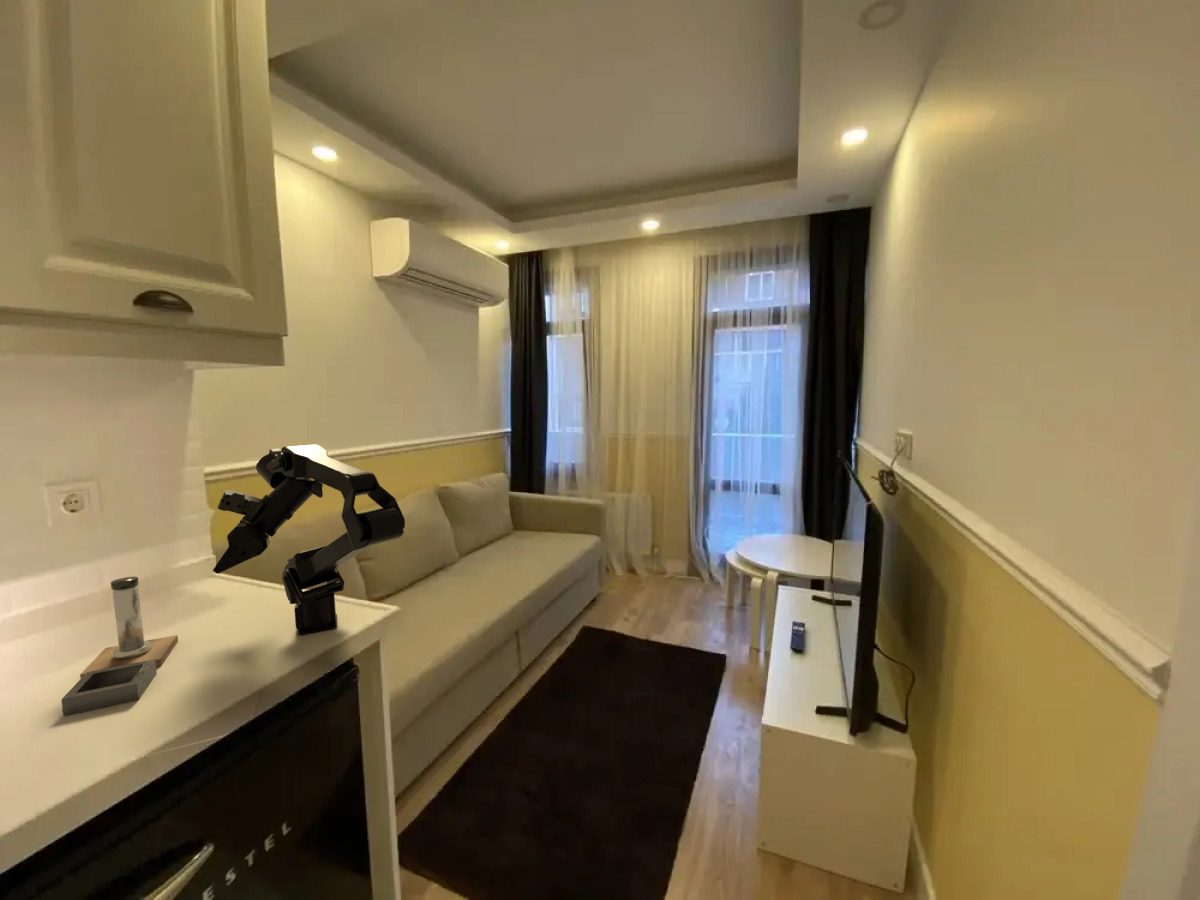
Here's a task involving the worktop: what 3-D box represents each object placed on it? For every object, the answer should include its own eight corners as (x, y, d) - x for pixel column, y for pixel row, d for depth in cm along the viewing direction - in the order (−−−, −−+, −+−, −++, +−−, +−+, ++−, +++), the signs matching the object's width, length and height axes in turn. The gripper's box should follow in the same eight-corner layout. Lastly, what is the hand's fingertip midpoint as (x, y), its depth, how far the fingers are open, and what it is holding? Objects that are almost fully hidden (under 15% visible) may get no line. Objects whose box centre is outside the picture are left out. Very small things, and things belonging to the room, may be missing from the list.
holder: (156, 673, 83) (155, 659, 82) (138, 699, 75) (137, 683, 75) (88, 687, 79) (87, 672, 79) (63, 716, 72) (61, 699, 71)
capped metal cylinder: (158, 645, 90) (151, 574, 88) (135, 659, 85) (127, 584, 84) (130, 647, 89) (122, 575, 88) (105, 660, 85) (96, 585, 83)
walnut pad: (178, 641, 94) (177, 634, 94) (161, 665, 85) (160, 659, 85) (106, 654, 89) (105, 647, 89) (80, 681, 81) (80, 674, 81)
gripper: (254, 469, 104) (192, 528, 100) (238, 481, 88) (163, 553, 84) (301, 502, 109) (243, 560, 105) (294, 520, 92) (225, 590, 88)
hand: (220, 564), depth 95 cm, fingers open, 9 cm apart
